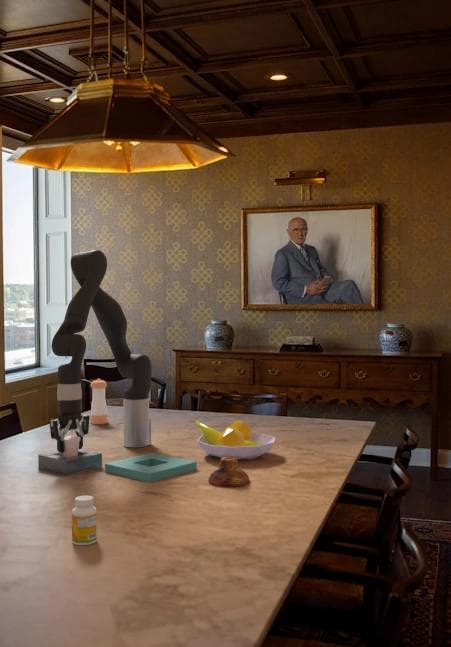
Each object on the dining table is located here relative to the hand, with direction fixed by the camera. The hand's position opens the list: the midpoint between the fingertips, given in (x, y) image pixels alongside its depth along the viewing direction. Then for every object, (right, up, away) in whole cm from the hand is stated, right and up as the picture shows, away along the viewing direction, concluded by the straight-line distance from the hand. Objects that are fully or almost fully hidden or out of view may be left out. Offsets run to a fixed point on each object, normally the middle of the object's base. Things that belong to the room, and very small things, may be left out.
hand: (70, 450), depth 223 cm
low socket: (+26, -6, -3) cm, 27 cm away
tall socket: (0, -6, 0) cm, 6 cm away
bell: (+50, -7, -17) cm, 53 cm away
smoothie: (0, -6, 0) cm, 6 cm away
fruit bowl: (+52, -5, +18) cm, 55 cm away
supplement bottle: (+18, -8, -68) cm, 71 cm away
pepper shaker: (-6, -3, +83) cm, 83 cm away
